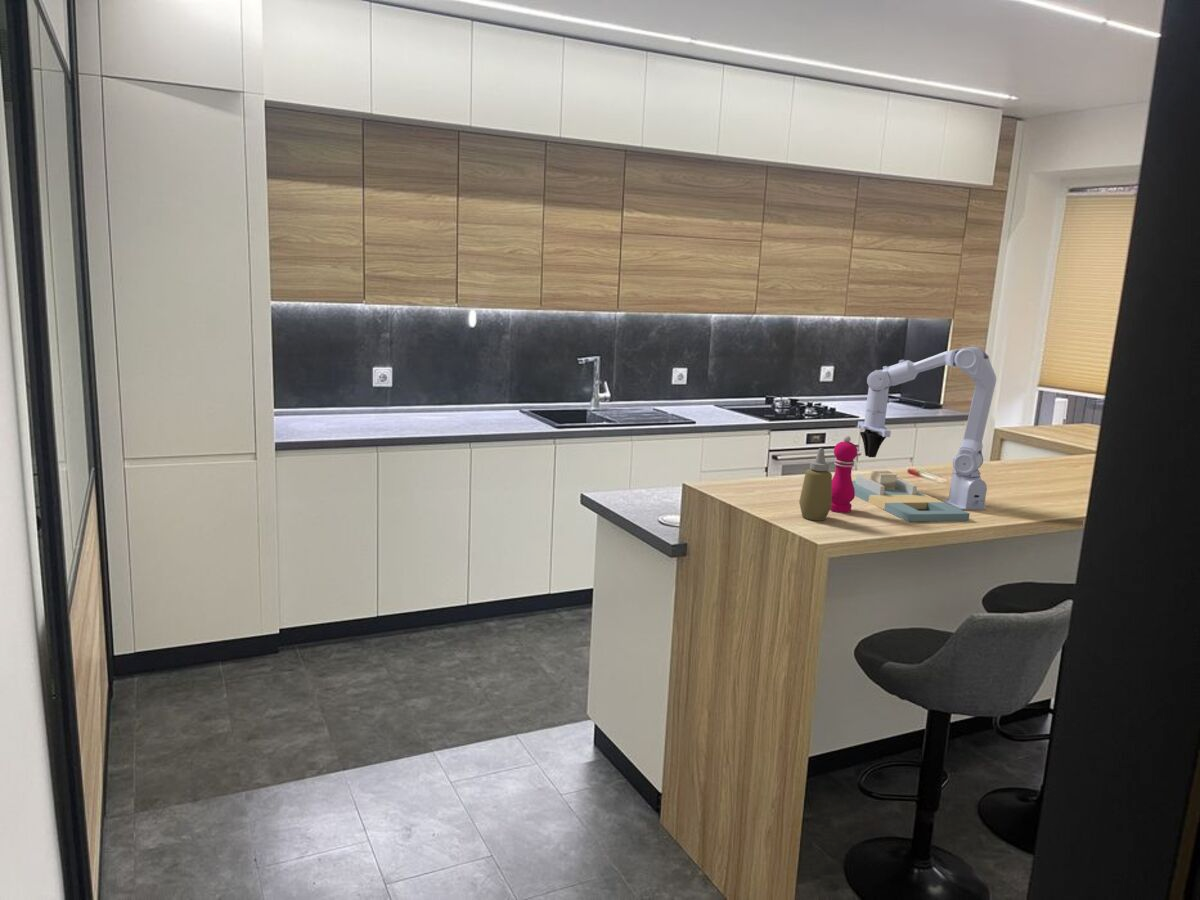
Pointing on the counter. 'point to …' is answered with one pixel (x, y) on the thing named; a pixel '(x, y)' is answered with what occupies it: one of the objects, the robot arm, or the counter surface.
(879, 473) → the block
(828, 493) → the squeeze bottle
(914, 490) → the board
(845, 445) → the pepper mill
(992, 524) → the counter surface
